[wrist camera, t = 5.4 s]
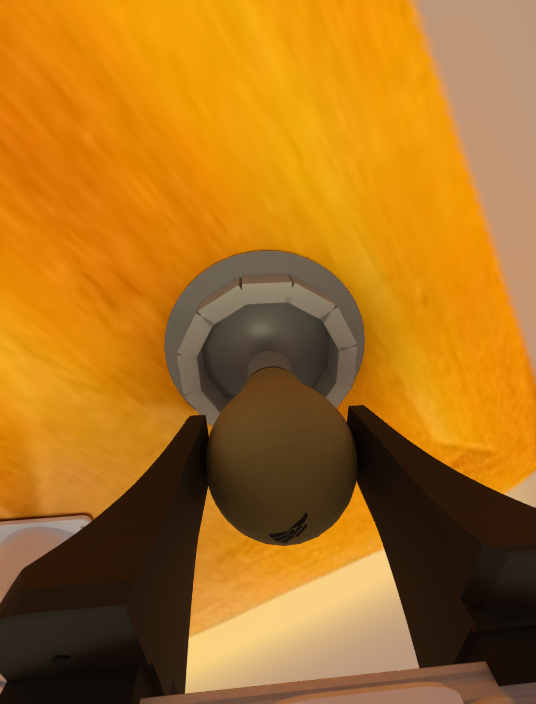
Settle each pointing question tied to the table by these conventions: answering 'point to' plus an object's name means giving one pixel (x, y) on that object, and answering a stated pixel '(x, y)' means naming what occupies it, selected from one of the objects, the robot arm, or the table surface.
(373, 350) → the table surface
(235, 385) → the bulb holder
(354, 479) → the light bulb
